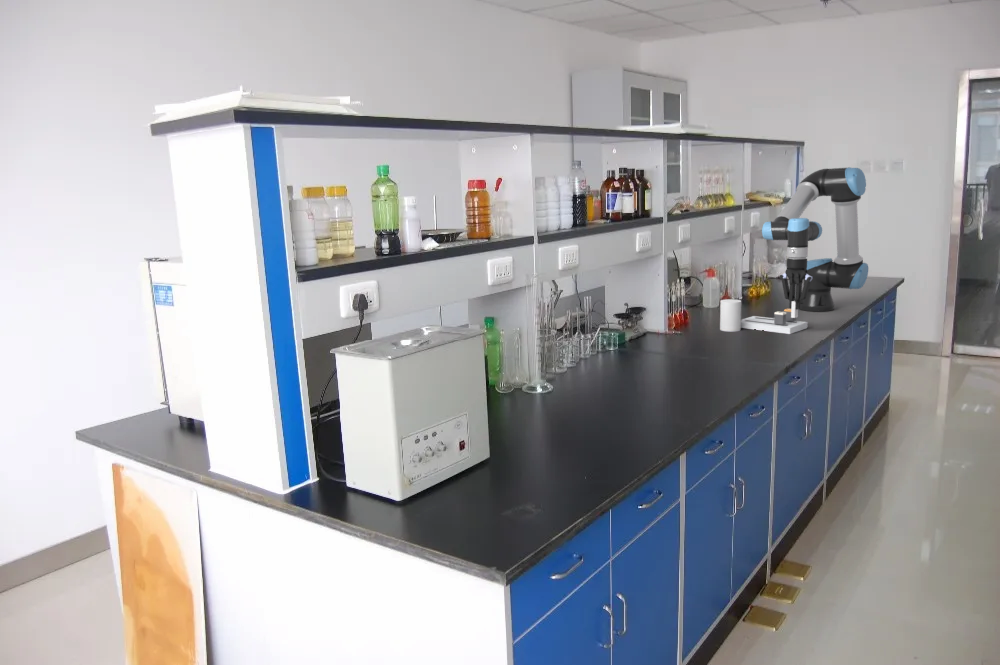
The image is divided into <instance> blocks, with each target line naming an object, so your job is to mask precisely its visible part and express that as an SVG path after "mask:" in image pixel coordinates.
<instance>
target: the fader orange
mask: <svg viewBox="0 0 1000 665" xmlns="http://www.w3.org/2000/svg"><path fill="white" fill-rule="evenodd" d="M783 312H786V321H791V322H793V321H797V317H796V318H791V309H790V308H785V309H784V310H783Z"/></svg>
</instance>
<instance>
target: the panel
mask: <svg viewBox="0 0 1000 665" xmlns="http://www.w3.org/2000/svg"><path fill="white" fill-rule="evenodd" d="M808 324H809V322H808V321H800V320H796V321H793V322H791V321H786V324H784V325H780V324H774V317H767V316H766V317H765V316H757V315H752V316H749V317H746V318H741V329H748V330H754V329H756V331H757V330H758V331H762V330H764V331H765V332H771V333H777V334H778V333H779V334H787V335H790V334H794V333H797V332H799V331H803V330H805V329H808Z"/></svg>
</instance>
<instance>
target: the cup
mask: <svg viewBox="0 0 1000 665" xmlns="http://www.w3.org/2000/svg"><path fill="white" fill-rule="evenodd" d="M719 306H720V310H719V311H720V313H719V314H720V317H719V330H720V331H722V332H729V333H730V332H739V331H741V329H742V328H741V320H742V300H741V299H731V298H728V299H721V300H720V305H719Z"/></svg>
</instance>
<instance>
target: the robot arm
mask: <svg viewBox="0 0 1000 665" xmlns="http://www.w3.org/2000/svg"><path fill="white" fill-rule="evenodd" d="M866 186H867V180H866V175H865V173H864V171H863V170H862V169H861V168H859V167H850V166H849V167H838V168H837V167H835V168H822V169H819V170H815V171H814V172H812V173H810V174H809V175H807V176H805V177H804V178H803V179H802V180H801V182H799V183H798V184H797V186H796V187H795V188H796V189H795V192H794V194H793V196H791V197H790V199H789V201H788V202H787V203H786V205H784V207H783V208H782V210H781V211H780V212H779V213H778V215H777V216H776V218H775V219H774V220H773V221H771V220H770V221H765V222H764V223H763V225H762V228H761V234H762V237H763V239H764V240H770V241H787V246H786V247H787V250H786V257H787V258H786V265H785V266H786V270H785V271H784V273H782V274H780V275H779V278H780V281H781V284H782V288H783V295H784V298H785V299H786V300H788V301H789V306H788V307H789V308H788V309H791V318H796V319H797V318H798V317H799V310H801V311H806V312H830V311H834V310H835V304H834V303H835V302H834V299H833V296H832V292H831V290H832V288H833V289H837V288H838V289H848V290H858V289H861V288H862V287H864V285H865V283H866V281H867V279H868V275H869V264H868V263H866V262H864V261H863V260H864V258H863V256H862V255H860V251H859V248H860V246H859V223H858V222H859V217H858V202H859V201H860V200H861V198H862V196H863V195H864V194H865V192H866V190H867V189H866ZM819 197H830V201H831V203H833V204H834V210H835V230H836V231H835V232H836V251H837V252H836V255H837V256H836V257H835V258H834V259H833V258H830V257H829V258H827V257H826V258H815V259H810V260H808V257H809V256H808V251H809V250H808V248H809V242H810V241H813V242H814V241H815V240H818V239H819V238H820V237H821V236H822V234H823V227H822V225H821V224H820V223H819V222H818V221H811V220H810V219H808V218H807V217H802V215H803V213H804V211H806V209H808V207H809V205H810V204H811V202H813V201H815V200H816V199H817V198H819ZM788 280H789V281H788Z"/></svg>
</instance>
